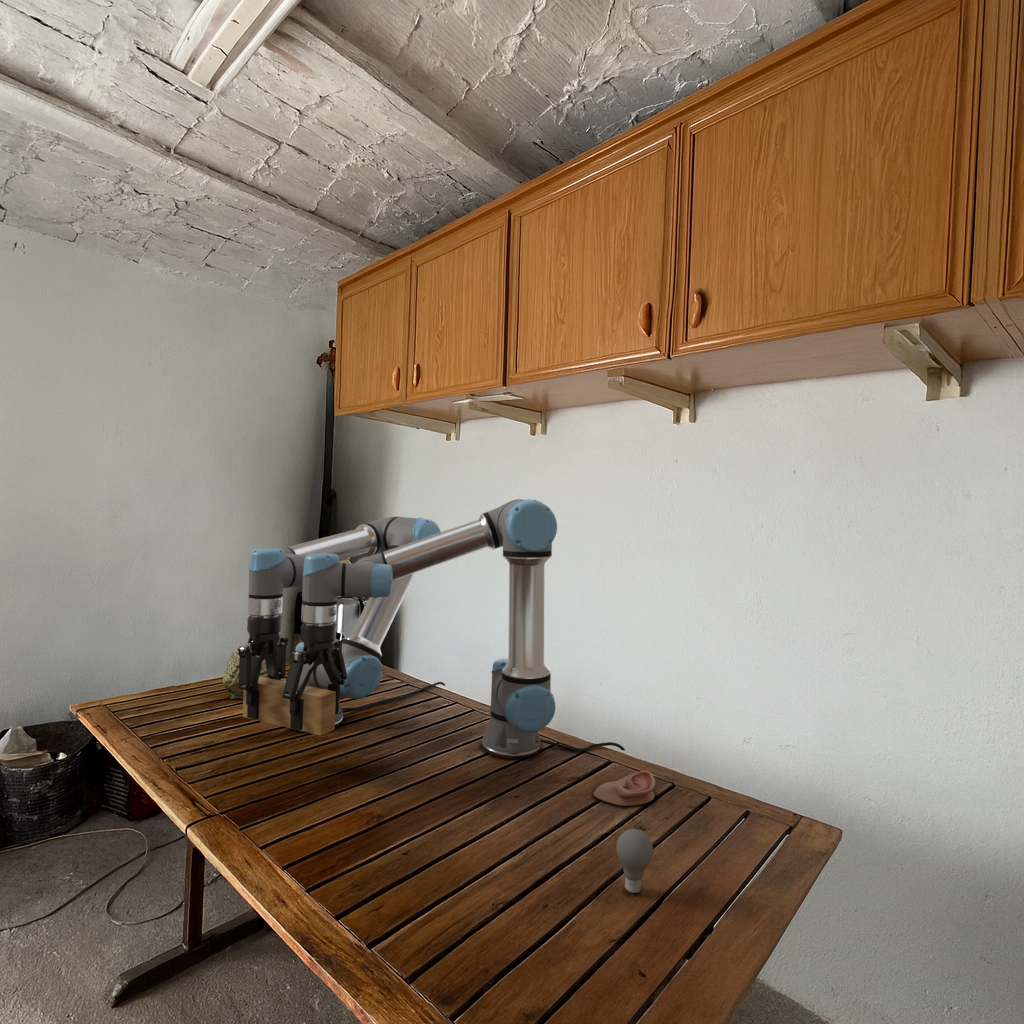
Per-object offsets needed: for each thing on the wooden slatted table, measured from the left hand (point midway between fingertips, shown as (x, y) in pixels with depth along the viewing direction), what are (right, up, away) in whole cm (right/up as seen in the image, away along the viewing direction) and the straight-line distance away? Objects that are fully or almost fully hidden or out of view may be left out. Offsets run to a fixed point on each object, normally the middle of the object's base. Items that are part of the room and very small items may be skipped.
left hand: (261, 714), depth 148 cm
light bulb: (+79, -16, -42) cm, 91 cm away
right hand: (+15, +1, -6) cm, 16 cm away
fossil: (-22, -10, +50) cm, 56 cm away
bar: (+7, -1, -3) cm, 8 cm away
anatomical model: (+83, -16, -7) cm, 85 cm away
